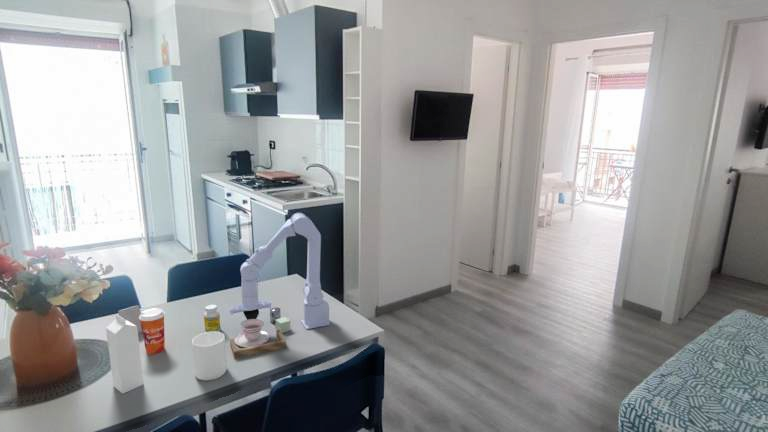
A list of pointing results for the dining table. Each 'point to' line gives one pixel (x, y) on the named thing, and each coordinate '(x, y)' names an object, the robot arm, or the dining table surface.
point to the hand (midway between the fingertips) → (251, 328)
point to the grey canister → (274, 315)
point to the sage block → (283, 324)
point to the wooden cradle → (258, 347)
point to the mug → (209, 355)
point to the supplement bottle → (212, 318)
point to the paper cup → (153, 330)
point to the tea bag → (132, 316)
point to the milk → (124, 355)
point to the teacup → (251, 334)
